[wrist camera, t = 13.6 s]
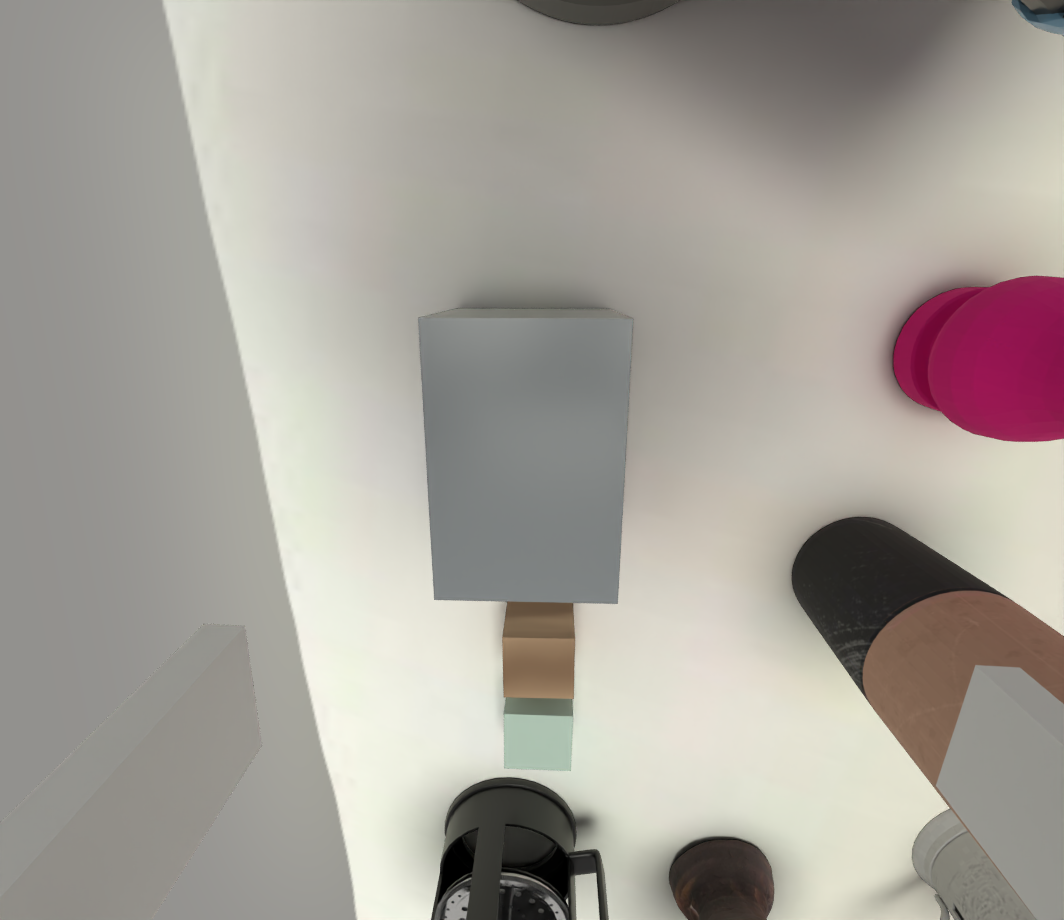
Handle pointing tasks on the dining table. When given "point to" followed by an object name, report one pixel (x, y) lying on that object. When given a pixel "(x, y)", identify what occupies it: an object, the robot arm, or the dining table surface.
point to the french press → (479, 879)
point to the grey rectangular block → (526, 451)
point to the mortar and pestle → (723, 882)
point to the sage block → (538, 733)
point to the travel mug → (916, 630)
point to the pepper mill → (990, 358)
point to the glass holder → (963, 874)
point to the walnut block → (538, 650)
